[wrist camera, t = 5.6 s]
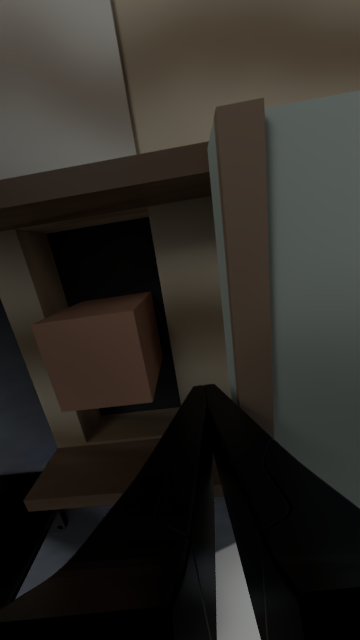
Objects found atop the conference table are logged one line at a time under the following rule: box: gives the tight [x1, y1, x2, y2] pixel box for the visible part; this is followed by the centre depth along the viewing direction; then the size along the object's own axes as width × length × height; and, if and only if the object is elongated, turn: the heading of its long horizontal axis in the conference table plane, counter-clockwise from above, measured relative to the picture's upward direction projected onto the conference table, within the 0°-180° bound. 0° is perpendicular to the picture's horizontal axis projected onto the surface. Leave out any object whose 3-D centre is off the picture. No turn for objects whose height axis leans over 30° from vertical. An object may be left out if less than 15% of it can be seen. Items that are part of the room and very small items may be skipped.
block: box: [31, 292, 163, 412], centre depth 12 cm, size 4×4×5 cm
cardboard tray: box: [0, 0, 360, 512], centre depth 10 cm, size 23×18×6 cm
